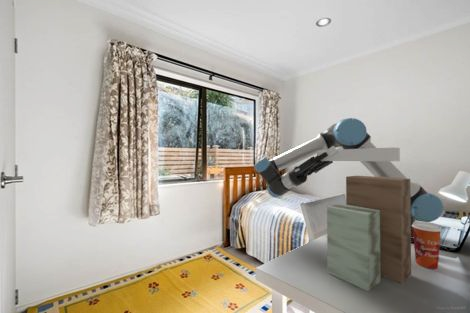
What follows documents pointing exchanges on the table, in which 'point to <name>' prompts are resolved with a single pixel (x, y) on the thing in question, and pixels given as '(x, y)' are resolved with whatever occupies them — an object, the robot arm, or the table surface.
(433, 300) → the table surface
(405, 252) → the wooden boards
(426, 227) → the paper cup
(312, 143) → the robot arm
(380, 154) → the white block
